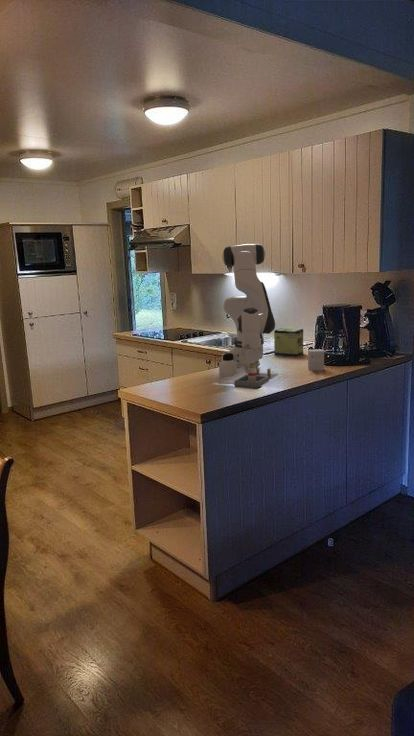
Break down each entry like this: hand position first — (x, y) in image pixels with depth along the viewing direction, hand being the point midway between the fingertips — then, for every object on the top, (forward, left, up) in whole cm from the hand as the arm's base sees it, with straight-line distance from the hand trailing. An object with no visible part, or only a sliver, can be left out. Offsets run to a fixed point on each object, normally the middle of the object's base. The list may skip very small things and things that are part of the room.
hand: (251, 371), depth 252 cm
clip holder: (0, +15, -7) cm, 16 cm away
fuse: (0, 0, -6) cm, 6 cm away
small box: (+19, +43, -7) cm, 48 cm away
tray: (0, 0, -7) cm, 7 cm away
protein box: (-9, +80, -7) cm, 81 cm away
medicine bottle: (-19, +13, -7) cm, 24 cm away
